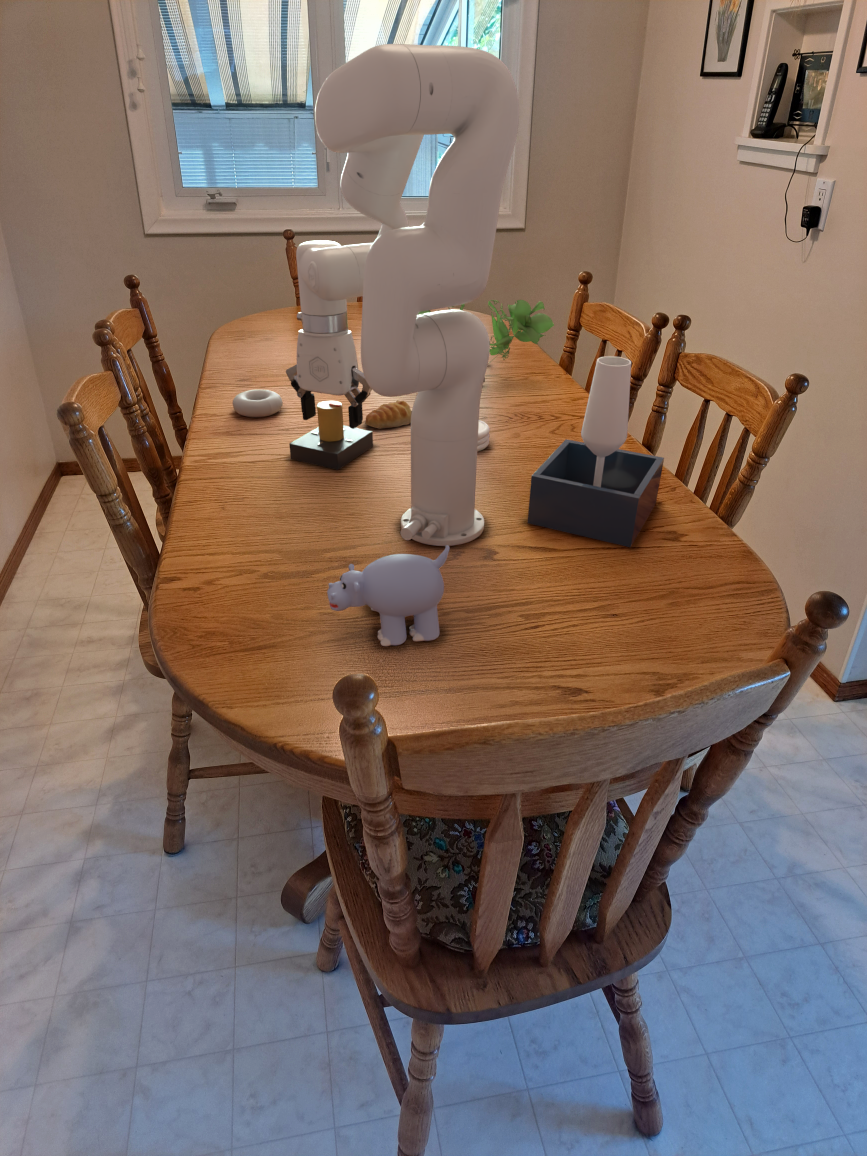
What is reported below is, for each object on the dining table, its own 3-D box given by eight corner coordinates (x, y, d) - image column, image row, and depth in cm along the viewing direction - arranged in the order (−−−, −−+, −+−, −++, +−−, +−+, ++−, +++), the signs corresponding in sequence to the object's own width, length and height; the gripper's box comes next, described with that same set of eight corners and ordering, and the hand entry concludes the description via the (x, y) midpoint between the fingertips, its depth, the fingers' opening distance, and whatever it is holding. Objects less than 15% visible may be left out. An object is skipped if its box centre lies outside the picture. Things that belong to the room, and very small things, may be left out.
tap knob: (314, 438, 138) (311, 404, 135) (327, 430, 142) (325, 397, 138) (335, 443, 137) (333, 408, 133) (348, 434, 140) (346, 401, 137)
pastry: (377, 433, 149) (377, 414, 147) (357, 423, 153) (357, 405, 151) (416, 422, 154) (416, 404, 152) (396, 413, 158) (395, 395, 156)
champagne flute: (623, 519, 120) (648, 365, 107) (585, 526, 118) (606, 370, 105) (600, 500, 126) (621, 352, 113) (563, 507, 123) (580, 356, 111)
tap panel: (338, 470, 134) (337, 453, 133) (290, 459, 138) (288, 442, 137) (373, 446, 144) (372, 430, 142) (327, 436, 147) (326, 420, 146)
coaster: (494, 437, 148) (495, 419, 146) (482, 457, 140) (483, 438, 138) (443, 431, 150) (443, 413, 148) (429, 450, 142) (429, 432, 140)
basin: (630, 547, 113) (639, 498, 109) (527, 523, 119) (531, 475, 114) (655, 503, 125) (664, 457, 121) (560, 483, 131) (565, 439, 127)
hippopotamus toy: (325, 603, 100) (320, 539, 95) (439, 590, 103) (440, 526, 98) (335, 654, 91) (330, 585, 86) (459, 638, 94) (462, 570, 89)
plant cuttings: (389, 410, 179) (411, 376, 158) (376, 339, 180) (396, 295, 159) (528, 396, 189) (566, 362, 167) (515, 328, 190) (551, 286, 168)
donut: (254, 400, 164) (222, 414, 157) (253, 384, 163) (220, 397, 155) (293, 408, 160) (262, 423, 153) (291, 392, 159) (260, 406, 151)
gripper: (268, 322, 129) (279, 421, 138) (358, 333, 122) (363, 436, 131) (295, 313, 135) (304, 408, 143) (381, 323, 128) (385, 422, 137)
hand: (332, 422), depth 137 cm, fingers open, 9 cm apart
